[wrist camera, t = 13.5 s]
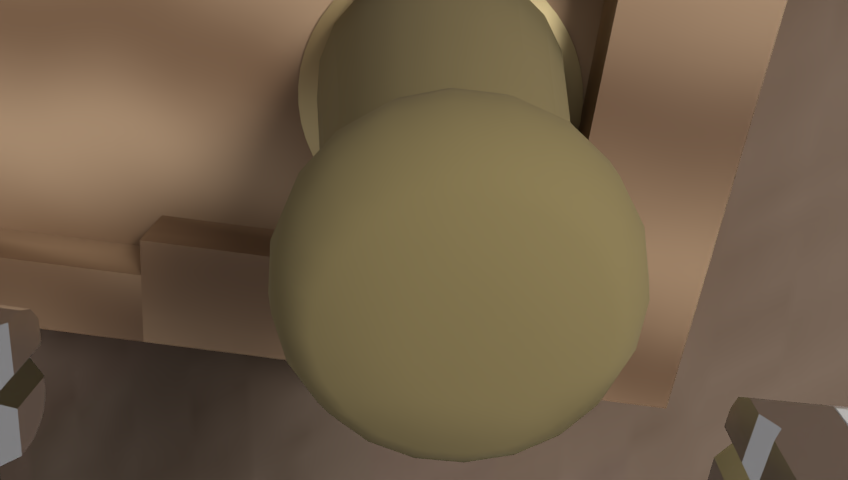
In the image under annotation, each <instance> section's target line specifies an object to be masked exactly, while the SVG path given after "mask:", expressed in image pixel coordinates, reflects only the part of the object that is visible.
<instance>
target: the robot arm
mask: <svg viewBox="0 0 848 480" xmlns="http://www.w3.org/2000/svg"><path fill="white" fill-rule="evenodd" d="M41 343H42V342H41V334H40V326H39V319H38V317H37V316H36V315H35V314H34V313H33V312H32V310H31V309H27V308H20V307H13V306H6V305H0V466H2V465H4V464H6V463H8V462H10V461H12V460H14V459H16V458H18V457H20V456H22V455H23V454H24V452H25V451H26V449H27V448H28V447H29V445H30V444H31V442H32V441H33V440H34V438H35V436H36V433H37V430H38V428H39V425H40V422H41V420H42V417H43V414H44V405H45V397H46V391H45V377H44V375H43V374H42V373H41V371H40V370H39V369H38V368H37V366H36V365H35V364H34V363H33V361H32V360H31V359H30V357H31V356H32V355H33V353H34V352H35V351H36V350H37V348H38V347H39V346H40V345H41ZM724 427H725V429H726V431H727V433H728V435H729V437H730V439H731V441H732V444H731V445H730V446H728V447H727V448H726V449H724V450H723V451H722V452H720V453H719V454H718V455H717V456H715V457H714V460H713V463H712V467H711V470H710V474H709V477H708V480H848V407H842V406H830V405H818V404H807V403H797V402H787V401H776V400H766V399H756V398H744V397H738V398H737V400H736V401H735V403H734V404H733V406H732V407H731V409H730V411H729V414H728V417H727V420H726V423H725V426H724ZM0 480H1V475H0Z"/></svg>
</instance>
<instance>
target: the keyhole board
mask: <svg viewBox="0 0 848 480" xmlns="http://www.w3.org/2000/svg"><path fill="white" fill-rule="evenodd" d="M353 1H354V0H0V305H6V306H13V307H20V308H27V309H31V310H32V312H33V313H34V314H35V315H36V316H37V317H38V319H39V326H40V329H47V330H54V331H62V332H70V333H78V334H86V335H94V336H102V337H109V338H117V339H125V340H133V341H141V342H149V343H157V344H164V345H172V346H180V347H188V348H196V349H204V350H211V351H219V352H227V353H235V354H243V355H251V356H259V357H266V358H274V359H282V360H286V358H285V355H284V352H283V349H282V346H281V342H280V339H279V336H278V333H277V330H276V327H275V324H274V321H273V318H272V315H271V310H270V303H269V296H268V284H269V259H270V240H271V237H272V235H273V233H274V230H275V228H276V225H277V223H278V221H279V218H280V216H281V213H282V211H283V209H284V206H285V204H286V202H287V199H288V197H289V195H290V192H291V190H292V187H293V185H294V183H295V180H296V178H297V176H298V173H299V172H300V171H301V169H302V168H303V167H304V166H305V165H306V164H307V163H308V162H309V161H310V160H311V159H312V157H313V156H314V155H315V154H316V153H317V152H318V151H319V150H320V148H319V128H318V109H317V90H318V74H319V60H320V57H321V55H322V52H323V50H324V48H325V45H326V43H327V40H328V38H329V35H330V33H331V30H332V28H333V25H334V23H335V22H336V21H337V20H338V19H339V17H340V16H341V15H342V14H343V13H344V12H345V10H346V9H347V8H348V7H349V6H350V5H351V4H352V2H353ZM530 1H531V2H532V3H533V4H534V5H535V6H536V7H537V8H538V9H539V10H540V11H541V12H542V13H543V14H544V15H545V17H546V19H547V21H548V23H549V25H550V27H551V29H552V31H553V34H554V36H555V38H556V40H557V42H558V44H559V46H560V48H561V50H562V57H563V65H564V73H565V81H566V89H567V97H568V106H569V114H570V122H571V124H572V125H573V126H574V127H575V128H576V129H577V130H578V131H579V132H580V133H581V134H583V135H584V136H585V137H586V138H587V139H588V140H589V141H590V142H591V143H592V144H593V145H594V146H595V147H596V148H597V149H598V150H599V151H600V152H601V153H602V154H603V155H604V156H605V157H606V158H607V159H609V160H610V162H611V163H612V165H613V166H614V168H615V169H616V171H617V172H618V174H619V176H620V177H621V179H622V181H623V183H624V186H625V188H626V190H627V192H628V194H629V196H630V198H631V200H632V202H633V204H634V206H635V208H636V210H637V212H638V214H639V216H640V218H641V221H642V223H643V225H644V227H645V239H646V250H647V262H648V273H649V297H650V301H649V304H648V308H647V311H646V315H645V319H644V322H643V326H642V329H641V333H640V337H639V340H638V344H637V347H636V350H635V352H634V353H633V355H632V356H631V358H630V359H629V361H628V362H627V363H626V365H625V366H624V368H623V369H622V371H621V372H620V374H619V375H618V377H617V378H616V379H615V381H614V382H613V384H612V385H611V387H610V388H609V390H608V391H607V393H606V394H605V395H604V397H603V398H602V399H601V400H604V401H612V402H620V403H628V404H635V405H643V406H651V407H659V408H667V405H668V401H669V398H670V394H671V391H672V388H673V384H674V381H675V378H676V374H677V371H678V367H679V364H680V361H681V357H682V354H683V351H684V347H685V344H686V340H687V337H688V334H689V330H690V327H691V324H692V320H693V317H694V313H695V310H696V307H697V303H698V300H699V297H700V293H701V290H702V286H703V283H704V280H705V276H706V273H707V270H708V266H709V263H710V260H711V256H712V253H713V249H714V246H715V243H716V239H717V236H718V233H719V229H720V226H721V222H722V219H723V216H724V212H725V209H726V206H727V202H728V199H729V195H730V192H731V189H732V185H733V182H734V179H735V175H736V172H737V168H738V165H739V162H740V158H741V155H742V152H743V148H744V145H745V141H746V138H747V135H748V131H749V128H750V125H751V121H752V118H753V114H754V111H755V108H756V104H757V101H758V98H759V94H760V91H761V87H762V84H763V81H764V77H765V74H766V71H767V67H768V64H769V60H770V57H771V54H772V50H773V47H774V44H775V40H776V37H777V33H778V30H779V27H780V23H781V20H782V17H783V13H784V10H785V6H786V3H787V0H530Z"/></svg>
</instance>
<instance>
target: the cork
mask: <svg viewBox="0 0 848 480" xmlns="http://www.w3.org/2000/svg"><path fill="white" fill-rule="evenodd" d="M317 109H318V128H319V148H320V150H319V151H318V152H317V153H316V154H315V155H314V156H313V157H312V159H311V160H310V161H309V162H308V163H307V164H306V165H305V166H304V167H303V168H302V169H301V171H300V172H299V173H298V176H297V178H296V180H295V183H294V185H293V187H292V190H291V192H290V195H289V197H288V199H287V202H286V204H285V206H284V209H283V211H282V213H281V216H280V218H279V221H278V223H277V225H276V228H275V230H274V233H273V235H272V237H271V240H270V259H269V284H268V296H269V303H270V310H271V315H272V318H273V321H274V324H275V327H276V330H277V333H278V336H279V339H280V342H281V346H282V349H283V352H284V355H285V358H286V361H287V363H288V364H289V365H290V367H291V368H292V369H293V371H294V372H295V373H296V375H297V376H298V377H299V379H300V380H301V381H302V382H303V384H304V385H305V386H306V388H307V389H308V390H309V392H310V393H311V394H312V396H313V397H314V398H315V400H316V401H317V402H318V403H319V404H320V405H321V406H322V407H323V408H324V409H325V410H326V411H327V412H328V413H329V414H330V415H332V416H333V417H335V418H336V419H338V420H339V421H340V422H342V423H343V424H345V425H346V426H347V427H349V428H350V429H352V430H353V431H354V432H356V433H357V434H359V435H360V436H362V437H363V438H364V439H366V440H367V441H369V442H372V443H374V444H377V445H380V446H383V447H386V448H388V449H391V450H394V451H397V452H400V453H402V454H405V455H408V456H411V457H414V458H421V459H433V460H444V461H455V462H470V461H476V460H483V459H489V458H495V457H502V456H508V455H514V454H516V453H519V452H521V451H523V450H526V449H528V448H530V447H533V446H535V445H537V444H540V443H542V442H544V441H547V440H549V439H551V438H554V437H556V436H558V435H560V434H561V433H563V432H564V431H565V430H566V429H568V428H569V427H570V426H571V425H573V424H574V423H575V422H576V421H578V420H579V419H580V418H581V417H583V416H584V415H585V414H587V413H588V412H589V411H590V410H592V409H593V408H594V407H595V406H597V405H598V403H599V402H600V401H601V399H602V398H603V397H604V395H605V394H606V393H607V391H608V390H609V388H610V387H611V385H612V384H613V382H614V381H615V379H616V378H617V377H618V375H619V374H620V372H621V371H622V369H623V368H624V366H625V365H626V363H627V362H628V361H629V359H630V358H631V356H632V355H633V353H634V352H635V350H636V347H637V344H638V340H639V337H640V333H641V329H642V326H643V322H644V319H645V315H646V311H647V308H648V304H649V301H650V297H649V273H648V262H647V250H646V239H645V227H644V225H643V223H642V221H641V218H640V216H639V214H638V212H637V210H636V208H635V206H634V204H633V202H632V200H631V198H630V196H629V194H628V192H627V190H626V188H625V186H624V183H623V181H622V179H621V177H620V176H619V174H618V172H617V171H616V169H615V168H614V166H613V165H612V163H611V162H610V160H609V159H607V158H606V157H605V156H604V155H603V154H602V153H601V152H600V151H599V150H598V149H597V148H596V147H595V146H594V145H593V144H592V143H591V142H590V141H589V140H588V139H587V138H586V137H585V136H584V135H583V134H581V133H580V132H579V131H578V130H577V129H576V128H575V127H574V126H573V125H572V124H571V122H570V114H569V106H568V97H567V89H566V81H565V73H564V65H563V57H562V50H561V48H560V46H559V44H558V42H557V40H556V38H555V36H554V34H553V31H552V29H551V27H550V25H549V23H548V21H547V19H546V17H545V15H544V14H543V13H542V12H541V11H540V10H539V9H538V8H537V7H536V6H535V5H534V4H533V3H532V2H531V1H530V0H354V1H353V2H352V4H351V5H350V6H349V7H348V8H347V9H346V10H345V12H344V13H343V14H342V15H341V16H340V17H339V19H338V20H337V21H336V22H335V23H334V25H333V28H332V30H331V33H330V35H329V38H328V40H327V43H326V45H325V48H324V50H323V52H322V55H321V57H320V60H319V74H318V90H317Z"/></svg>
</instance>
